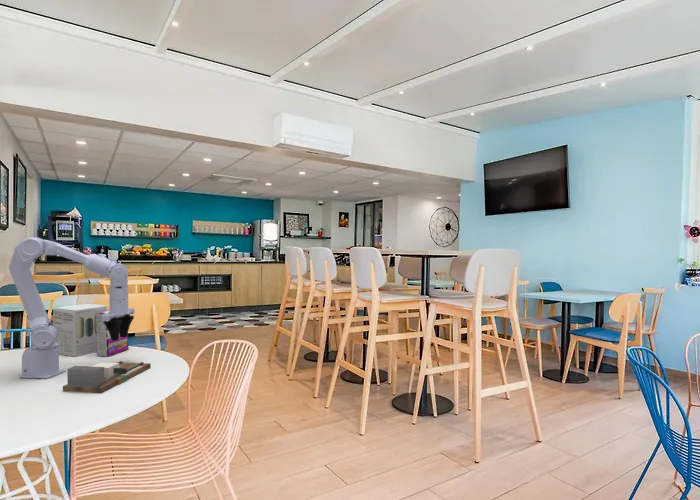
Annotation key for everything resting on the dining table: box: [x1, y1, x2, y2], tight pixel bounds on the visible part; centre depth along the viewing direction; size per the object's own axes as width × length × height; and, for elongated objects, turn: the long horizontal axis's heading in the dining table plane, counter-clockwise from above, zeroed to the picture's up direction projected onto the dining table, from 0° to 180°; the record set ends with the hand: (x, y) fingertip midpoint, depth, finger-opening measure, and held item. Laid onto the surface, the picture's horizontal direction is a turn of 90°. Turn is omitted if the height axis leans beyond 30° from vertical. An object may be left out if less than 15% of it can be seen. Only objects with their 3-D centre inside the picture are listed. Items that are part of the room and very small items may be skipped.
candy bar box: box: [96, 309, 129, 358], centre depth 163 cm, size 11×5×16 cm, turn 168°
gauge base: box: [62, 360, 152, 394], centre depth 133 cm, size 12×24×2 cm, turn 174°
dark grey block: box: [66, 365, 104, 388], centre depth 122 cm, size 9×3×5 cm, turn 84°
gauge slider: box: [91, 361, 127, 378], centre depth 129 cm, size 10×7×3 cm
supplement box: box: [52, 302, 108, 358], centre depth 165 cm, size 13×13×18 cm
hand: (119, 338), depth 146 cm, fingers open, 4 cm apart
